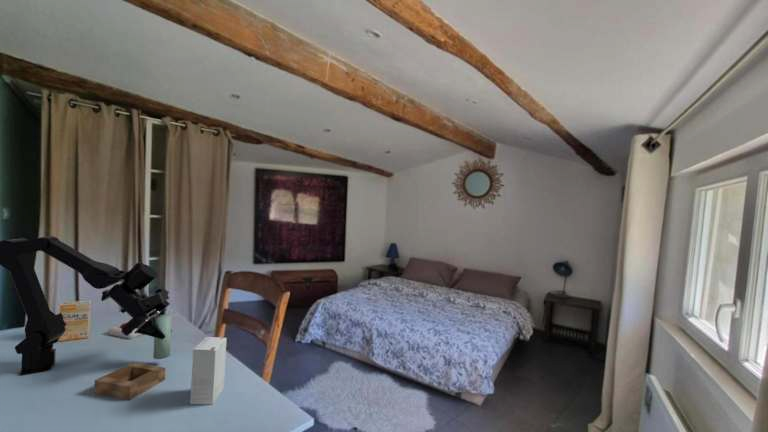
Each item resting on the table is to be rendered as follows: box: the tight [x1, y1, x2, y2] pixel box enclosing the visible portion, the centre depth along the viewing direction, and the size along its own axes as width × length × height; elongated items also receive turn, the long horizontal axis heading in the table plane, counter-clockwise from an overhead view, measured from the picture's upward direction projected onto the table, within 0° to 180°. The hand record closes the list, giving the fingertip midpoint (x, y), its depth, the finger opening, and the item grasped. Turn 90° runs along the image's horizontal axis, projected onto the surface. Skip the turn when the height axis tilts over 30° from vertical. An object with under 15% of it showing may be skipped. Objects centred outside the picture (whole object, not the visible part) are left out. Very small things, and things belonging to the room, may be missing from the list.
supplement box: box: [57, 299, 92, 343], centre depth 126 cm, size 8×5×13 cm, turn 123°
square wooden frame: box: [93, 362, 166, 401], centre depth 96 cm, size 11×11×4 cm
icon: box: [107, 322, 145, 340], centre depth 133 cm, size 12×4×10 cm
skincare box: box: [189, 336, 227, 405], centre depth 93 cm, size 8×6×15 cm
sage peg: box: [152, 313, 173, 360], centre depth 109 cm, size 4×4×12 cm
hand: (167, 335), depth 109 cm, fingers closed on sage peg, 4 cm apart
